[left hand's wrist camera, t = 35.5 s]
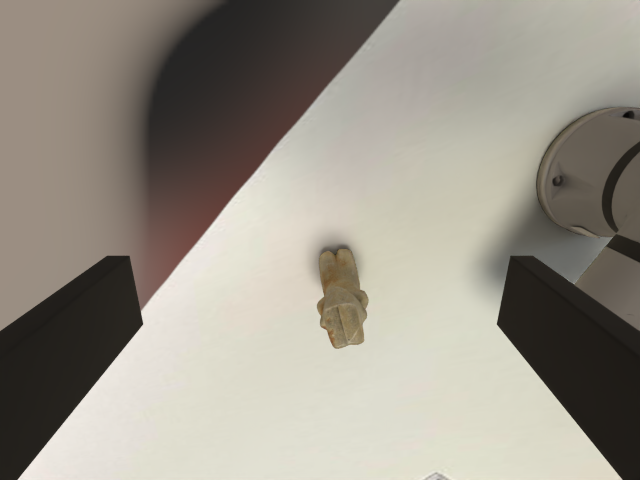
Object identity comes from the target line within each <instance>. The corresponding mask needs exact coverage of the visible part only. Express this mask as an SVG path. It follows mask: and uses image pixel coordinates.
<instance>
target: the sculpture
mask: <svg viewBox="0 0 640 480" xmlns="http://www.w3.org/2000/svg"><path fill="white" fill-rule="evenodd" d="M319 268H320V277H321V283H322V288H323V293H324V297H323V298H322V299H321V300H320V301H319V302H318V304H317V309H318V312H319V314H320V315H321V319H320V326H321V327H322V328H324V329H326V330H327V332H328V335H329V339H330V341H331V343H332V345H333V347H334V348H336V349H339V348H343V347H346V346H348V345H358V344H361V343H363V342H364V332H363V326H362V324H363V322H364V320H365V319H366V318H367V312H366V310H365V309H366V307H367V305H368V297H367V294H366V293H365V291H362V290H360V283H359V277H358V273H357V268H356V264H355V261H354V258H353V254H352V252H351V251H350V250H348V249H339V250H338V251H337V254H336V255H334V254H333V253H332V252H330V251H326V252H324V253H323V254H321V256H320V258H319Z"/></svg>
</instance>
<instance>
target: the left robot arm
mask: <svg viewBox="0 0 640 480" xmlns="http://www.w3.org/2000/svg"><path fill="white" fill-rule="evenodd" d="M537 192H538V198H539V201H540V204H541V207H542V208H543V210H544V212H545V213H546V215H547V216H548V217H549V218H550V219H551V220H552V221H553V222H555V223H556V224H558V225H559V226H561V227H563V228H565V229H567V230H569V231H571V232H574V233H577V234H580V235H585V236H588V237H594V238H600V237H598V236H605V237H613V238H612V239H611V241H610V242H609V243H608V244H607V246H606V247H605V248H604V249H603V250H602V252H601V253H600V254H599V255H598V256H597V258H596V259H595V260H594V261H593V263H592V264H591V265H590V266H589V267H588V269H587V270H586V271H585V272H584V273H583V275H582V276H581V277H580V278H579V279H578V281H577V282H576V283H575V284H572V283H571V282H569V281H568V280H566V279H565V278H564V277H562V276H561V275H559V274H558V273H556V272H555V271H554V270H552V269H551V268H549V267H548V266H547V265H545V264H544V263H542V262H541V261H539V260H538V259H537V258H535V257H534V256H510V261H509V266H508V271H507V276H506V281H505V286H504V291H503V296H502V301H501V306H500V311H499V316H498V321H497V325H498V326H499V328H500V329H501V330H502V331H503V333H504V334H505V335H506V336H507V337H508V339H509V340H510V341H511V342H512V344H513V345H514V346H515V347H516V349H517V350H518V351H519V352H520V354H521V355H522V356H523V357H524V358H525V360H526V361H527V362H528V363H529V365H530V366H531V367H532V368H533V370H534V371H535V372H536V373H537V375H538V376H539V377H540V378H541V379H542V381H543V382H544V383H545V384H546V386H547V387H548V388H549V389H550V391H551V392H552V393H553V394H554V396H555V397H556V398H557V399H558V400H559V402H560V403H561V404H562V405H563V407H564V408H565V409H566V410H567V412H568V413H569V414H570V415H571V417H572V418H573V419H574V420H575V421H576V423H577V424H578V425H579V426H580V428H581V429H582V430H583V431H584V433H585V434H586V435H587V436H588V438H589V439H590V440H591V441H592V442H593V444H594V445H595V446H596V447H597V449H598V450H599V451H600V452H601V454H602V455H603V456H604V457H605V459H606V460H607V461H608V462H609V464H610V465H611V466H612V467H613V468H614V470H615V471H616V472H617V473H618V475H619V476H620V477H621V478H622V480H640V108H629V107H618V108H606V109H602V110H598V111H595V112H592V113H590V114H588V115H585V116H584V117H582V118H580V119H578V120H577V121H575V122H574V123H572V124H571V125H570V126H568V127H567V128H566V129H565V130H564V131H563V132H562V133H561V134H560V135H559V136H558V137H557V138H556V139H555V140H554V142H553V143H552V144H551V146H550V147H549V149H548V151H547V152H546V154H545V156H544V158H543V160H542V163H541V166H540V169H539V173H538V179H537ZM142 325H143V321H142V316H141V311H140V306H139V301H138V296H137V291H136V286H135V281H134V276H133V271H132V266H131V261H130V256H106V257H105V258H103V259H102V260H101V261H99V262H98V263H96V264H95V265H93V266H92V267H91V268H89V269H88V270H86V271H85V272H84V273H82V274H81V275H79V276H78V277H76V278H75V279H74V280H72V281H71V282H69V283H68V284H67V285H65V286H64V287H62V288H61V289H59V290H58V291H57V292H55V293H54V294H52V295H51V296H50V297H48V298H47V299H45V300H44V301H42V302H41V303H40V304H38V305H37V306H35V307H34V308H33V309H31V310H30V311H28V312H27V313H25V314H24V315H23V316H21V317H20V318H18V319H17V320H16V321H14V322H13V323H11V324H10V325H8V326H7V327H5V328H4V329H3V330H1V331H0V480H18V478H19V477H20V476H21V475H22V473H23V472H24V471H25V470H26V468H27V467H28V466H29V465H30V464H31V462H32V461H33V460H34V459H35V457H36V456H37V455H38V454H39V452H40V451H41V450H42V449H43V447H44V446H45V445H46V444H47V442H48V441H49V440H50V439H51V438H52V436H53V435H54V434H55V433H56V431H57V430H58V429H59V428H60V426H61V425H62V424H63V423H64V421H65V420H66V419H67V418H68V417H69V415H70V414H71V413H72V412H73V410H74V409H75V408H76V407H77V405H78V404H79V403H80V402H81V400H82V399H83V398H84V397H85V396H86V394H87V393H88V392H89V391H90V389H91V388H92V387H93V386H94V384H95V383H96V382H97V381H98V379H99V378H100V377H101V376H102V375H103V373H104V372H105V371H106V370H107V368H108V367H109V366H110V365H111V363H112V362H113V361H114V360H115V358H116V357H117V356H118V355H119V354H120V352H121V351H122V350H123V349H124V347H125V346H126V345H127V344H128V342H129V341H130V340H131V339H132V337H133V336H134V335H135V334H136V333H137V331H138V330H139V329H140V328H141V326H142Z"/></svg>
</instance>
